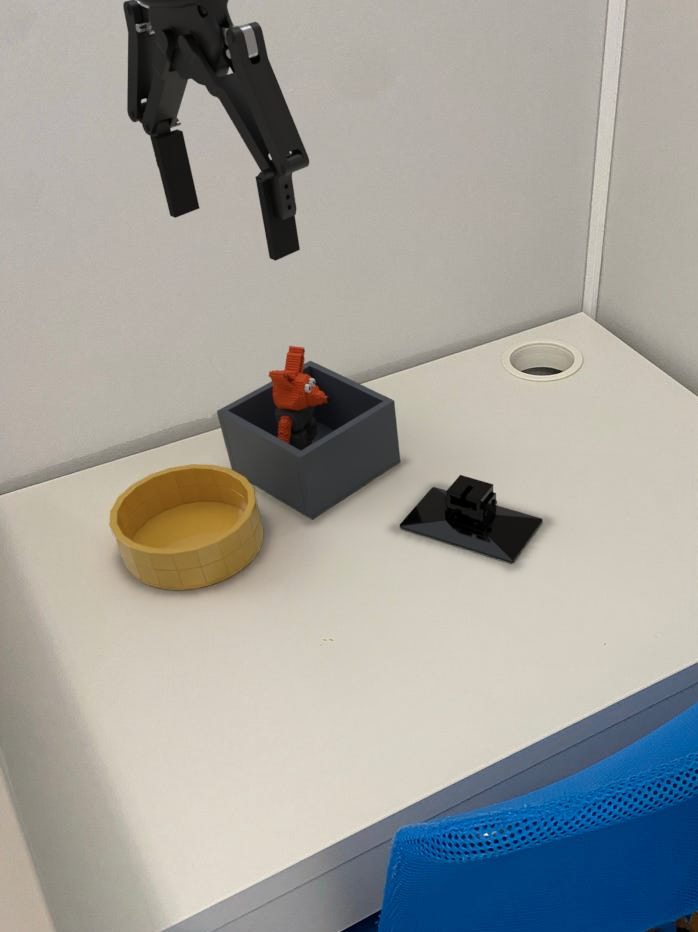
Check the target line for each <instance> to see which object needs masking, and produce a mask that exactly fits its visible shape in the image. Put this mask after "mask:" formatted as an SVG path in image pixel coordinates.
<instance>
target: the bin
mask: <svg viewBox="0 0 698 932" xmlns="http://www.w3.org/2000/svg"><path fill="white" fill-rule="evenodd" d="M303 367H304V368H303V373H302V374H308V375H309V376H310V377H311V378H314V379H315V385H317V386H318V387H319V390H320V391H323V392H324V393H325V396H331V398H332V400H331V402H328V403H323V404H322V405H319V404H318V405H316V406H315V410H314V411H315V412H314V413H313V414H312V416H313V417H314V418H315V419H316V423H317V424H318V426H317V428H318V432H317V435H316V437H315V438H314V439H313V440H312V444H311V445H310V446H308V447H306V448H305V449H303V450H299V449H297V448H295V447H293V446H291V445H290V444H288V443H286V442H284V441H282V440H281V439H279V438H278V429H279V427H278V426H277V422H276V418H275V411H276V409H277V408H278V407H277V406H276V405H275V404H274V399H273V382H272V380H271V381H269V382H268V383H265V384H264V385H263V386H260V387H258V388H256V389H255V390H253V391H251V392H249V393H247V394H246V395H244V396H241V397H240V398H238V399H236V400H235V401H232V402H231V403H229V404H227V405H225V406H223V407H221V408H219V409H217V410H216V415H217V418H218V422H219V425H220V430H221V433H222V437H223V441H224V445H225V449H226V453H227V457H228V461H229V464H230V469H232V470H234V471H236V472H237V473H239V474H241V475H242V476H244V477H245V478H247V480H248V481H249V482H250V484H251V485H252V486H255V487H257V488H258V489H260V490H261V491H263V492H265V493H266V494H268V495H270V496H271V497H273V498H275V499H276V500H278V501H280V502H282V503H283V504H284V505H286V506H288V507H290V508H292V509H293V510H295V511H296V512H298V513H300V514H301V515H304V516H305V517H307V518H309V519H310V520H315V519H316V518H318V517H319V516H321V515H322V514H324V513H325V512H326V511H328V510H330V509H331V508H333V507H334V506H336V505H338V504H339V503H340V502H342V501H343V500H345V499H346V498H348V497H350V496H351V495H353V494H354V493H355V492H358V490H360V489H361V488H363V487H364V486H366V485H368V484H370V483H371V482H372V481H374V480H375V479H377V478H378V477H380V476H381V475H383V474H385V473H386V472H388V471H389V470H390V469H392V468H393V467H395V466H397V465H398V464H400V463H401V454H400V444H399V434H398V423H397V414H396V404H395V400H394V399H392V398H390V397H388V396H386V395H383V394H382V393H379V392H377V391H375V390H374V389H372V388H369V387H367V386H365V385H363V384H361V383H358V382H356V381H355V380H352V379H351V378H348V377H346V376H345V375H344V376H343V375H342V374H340V373H338V372H336V371H334V370H331V369H329V368H327V367H325V366H323V365H321V364H319V363H317V362H314V361H312V360H308V361H307V362H304V366H303Z"/></svg>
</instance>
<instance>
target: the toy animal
mask: <svg viewBox="0 0 698 932" xmlns="http://www.w3.org/2000/svg"><path fill="white" fill-rule="evenodd" d="M305 352H306V350H305V347H302V346H295V345H289V346H288V351H287V353H286V356H285V357H286V358H285V364H284V365H285V366H284V369H283V370H281V369H279V370H278V369H276V370H271V371H269V372H268V377H269V378H270V379H271V381H272V382H273V399H274V404H275V405H276V406H277V407H278V408H277V409H276V411H275V418H276V422H277V426H278V427H279V429H278V438H279V439H281V440H282V441H284V442H286V443H288V444H290V445H291V446H293V447H295V448H297V449H299V450H303V449H305V448H306V447H308V446H310V445H311V444H312V440H313V439H314V438H315V437H316V435H317V432H318V428H317V426H318V424H317V423H316V419H315V418H314V417H313V416H312V414H313V413H314V412H315V411H314V410H315V406H316V405H318V404H319V405H322V404H323V403H328V402H331V400H332V398H331V396H325V393H324V392H323V391H320V390H319V387H318V386H317V385H315V379H314V378H311V377H310V376H309V375H308V374H302V373H303V368H304V367H303V366H304V364H305V361H306V360H305Z"/></svg>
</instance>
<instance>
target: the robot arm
mask: <svg viewBox="0 0 698 932" xmlns="http://www.w3.org/2000/svg"><path fill="white" fill-rule="evenodd" d="M229 1H230V0H126V1H123V5H122V6H123V8H122V9H123V14H124V18H125V23H126V29H127V87H126V88H127V94H126V95H127V99H126V100H127V101H126V103H127V104H126V110H127V111H126V112H127V115H128V118H129V119H130V121H131V122H133V123H138V122H139V123H140V124H141V127H142V129H143V131H144V132H145V134H146V135H148V136H149V138H150V142H151V146H152V149H153V153H154V158H155V162H156V166H157V169H158V171H159V176H160V180H161V183H162V187H163V191H164V196H165V200H166V205H167V209H168V213H169V216H170V217H172V218H175V219H176V218H178V217H181V216H185V215H186V214H189V213H192V212H194V211H197V210H199V209H200V204H199V199H198V195H197V190H196V185H195V181H194V177H193V172H192V168H191V163H190V159H189V154H188V150H187V145H186V142H185V135H184V132H183V130H180V129H178V128H177V129H173V130H172V128H176V127H179V126H181V125H182V122H180V119H179V118H178V115H179V111H180V109H181V106H182V102H183V98H184V94H185V91H186V88H187V85H188V81H189V80H192V81H194V82H195V83H197V84H198V85H201V86H204V87H205V88H206V90H207V92H208V93H209V95H211V96H212V97H215V98H217V99H218V100H219V102H220V104H221V105H222V107H223V109H224V110H225V112H226V114H227V115H228V117H229V119H230V120H231V122H232V124H233V126H234V128H235V129H236V130H237V132H238V134H239V136H240V138H241V139H242V141H243V143H244V144H245V146H246V148H247V150H248V151H249V153H250V155H251V157H252V158H253V160H254V162H255V163H256V165H257V167H258V168H259V170H260V171H259V173H258V174H257V175H256V176H255V183H256V188H257V194H258V200H259V205H260V212H261V216H262V222H263V228H264V235H265V241H266V245H267V251H268V258H269V259H271V260H273V261H278V260H280V259H284V258H285V257H287V256H289V255H292V254H293V253H296V252H299V251H301V248H300V242H299V241H300V240H299V235H298V227H297V222H296V214H297V202H296V196H295V189H294V183H293V182H294V181H293V173H296V172H297V171H298V172H299V171H300V170H302V169H306V168H308V166H310V158H309V155H308V153H307V150H306V148H305V145H304V143H303V140H302V138H301V136H300V133H299V131H298V128H297V125H296V123H295V121H294V118H293V116H292V113H291V111H290V108H289V106H288V103H287V101H286V98H285V96H284V93H283V91H282V88H281V87H280V83H279V81H278V79H277V76H276V74H275V71H274V69H273V66H272V63H271V61H270V59H269V55H268V51H267V47H266V41H265V36H264V32H263V29H262V26H261V24H260V23H259V22H257V21H253V22H248V23H245V24H242V25H234V23H233V21H232V18H231V15H230V12H229V9H228V4H229ZM230 69H231V73H229V70H230ZM145 99H146V100H145ZM142 100H145V101H143V102H142Z"/></svg>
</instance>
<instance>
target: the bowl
mask: <svg viewBox="0 0 698 932" xmlns="http://www.w3.org/2000/svg"><path fill="white" fill-rule="evenodd" d="M261 515H262V514H261V511H260V507H259V502H258V498H257V495H256V490H255V488H254V486H253V484H251V483H250V482H249V481H248V480H247V478H245V477H244V476H242V475H241V474H239V473H237V472H236V471H234V470H232V468H228V467H224V466H220V465H217V464H203V463H202V464H201V463H199V464H197V463H193V464H185V465H184V464H183V465H179V466H172V467H168V468H165V469H162V470H159V471H156V472H153V473H150V474H148V475H147V476H145V477H143V478H141V479H139V480H138V481H136V482H134V483H132V484H131V485H129V486H128V487H127V489H125V490H124V491H123V492H122V493H121V494H119V496H118V497H117V498H116V500H115V502H114V504H113V505H112V507H111V509H110V510H109V521H108V522H109V523H108V526H109V528H110V531H111V533H112V536H113V539H114V541H115V544H116V546H117V549H118V551H119V554H120V556H121V558H122V560H123V563H124V566H125V567H126V569H127V571H128V572H129V574H130V575H131V576H133V578H135V579H136V580H137V581H139V582H141V583H143V584H144V585H147V586H149V587H154V588H155V589H162V590H169V591H171V590H172V591H187V590H195V589H200V588H205V587H209V586H212V585H214V584H218V583H220V582H223V581H225V580H228V579H229V578H231V577H233V576H235V575H236V574H238V573H239V572H240V571H242V570H244V569H245V568H246V567H247V566H249V564H251V563H252V562H253V561H254V559H255V558H256V557H257V555H258V554H259V552H260V551H261V548H262V547H263V543H264V539H265V531H264V525H263V520H262V516H261Z"/></svg>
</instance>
